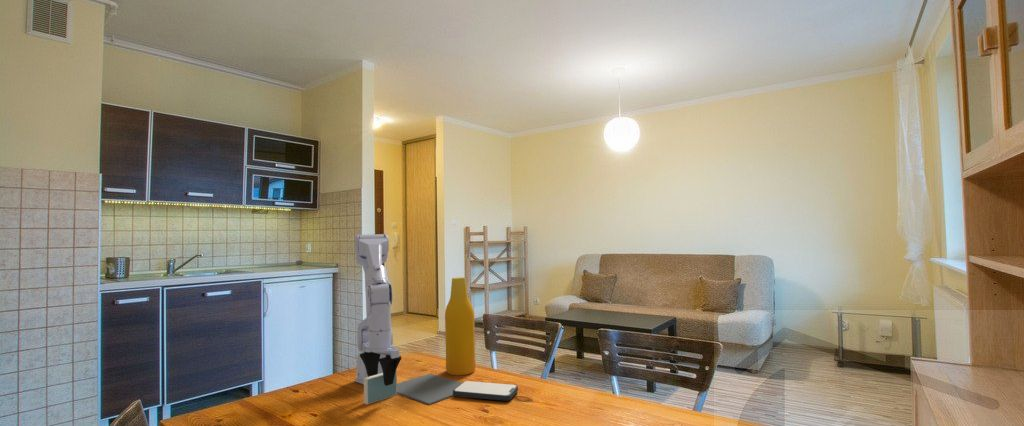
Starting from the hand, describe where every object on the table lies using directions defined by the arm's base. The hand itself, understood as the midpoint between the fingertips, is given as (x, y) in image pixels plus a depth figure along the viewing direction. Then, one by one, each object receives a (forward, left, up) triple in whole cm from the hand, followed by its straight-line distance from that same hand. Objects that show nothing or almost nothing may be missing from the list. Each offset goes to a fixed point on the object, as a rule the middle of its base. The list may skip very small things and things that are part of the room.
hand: (380, 381), depth 121 cm
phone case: (+20, +19, -4) cm, 28 cm away
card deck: (0, 0, -5) cm, 5 cm away
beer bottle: (-1, +29, -5) cm, 29 cm away
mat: (+4, +13, -4) cm, 14 cm away
